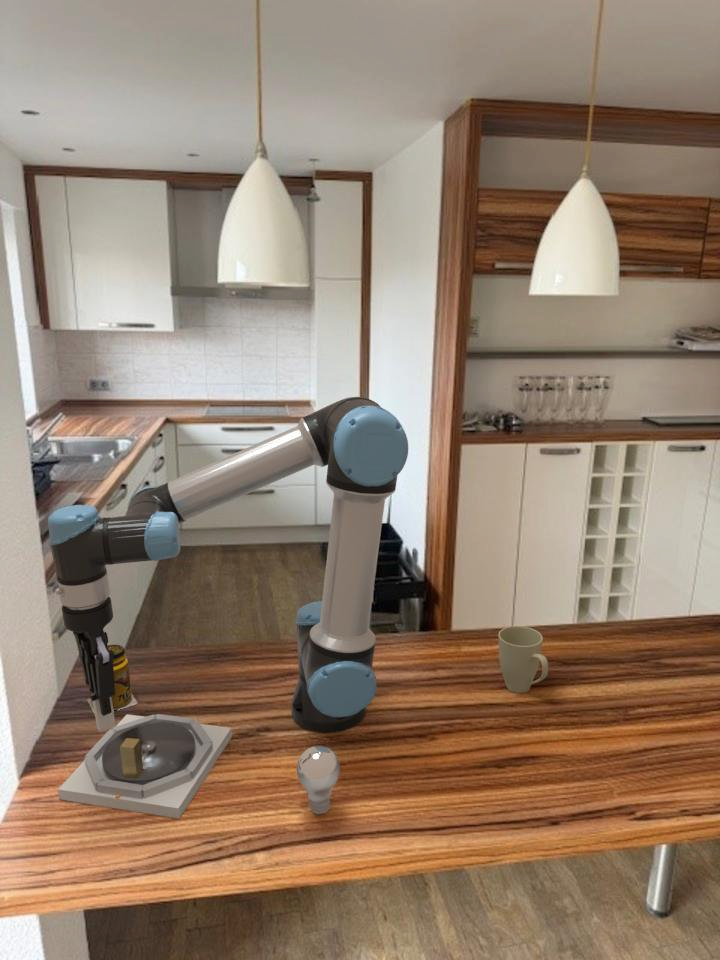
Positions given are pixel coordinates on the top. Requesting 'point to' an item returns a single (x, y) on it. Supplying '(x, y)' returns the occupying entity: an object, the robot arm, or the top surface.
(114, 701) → the condiment
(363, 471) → the robot arm
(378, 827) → the top surface
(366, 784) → the top surface
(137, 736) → the dial
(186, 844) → the top surface
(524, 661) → the mug
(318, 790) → the light bulb
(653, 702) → the top surface
